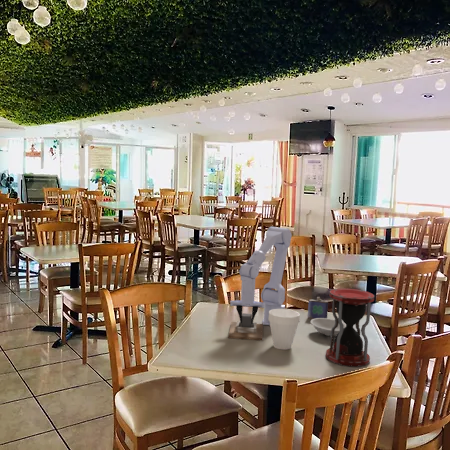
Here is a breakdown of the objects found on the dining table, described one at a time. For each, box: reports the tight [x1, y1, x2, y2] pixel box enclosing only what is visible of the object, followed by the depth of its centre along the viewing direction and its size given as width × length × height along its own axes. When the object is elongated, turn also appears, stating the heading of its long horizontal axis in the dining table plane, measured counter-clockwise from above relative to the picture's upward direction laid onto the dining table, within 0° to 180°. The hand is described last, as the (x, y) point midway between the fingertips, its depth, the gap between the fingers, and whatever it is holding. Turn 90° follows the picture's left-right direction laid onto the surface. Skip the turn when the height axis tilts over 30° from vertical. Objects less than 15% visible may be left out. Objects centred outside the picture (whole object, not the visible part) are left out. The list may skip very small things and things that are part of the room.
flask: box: [307, 296, 329, 320], centre depth 230 cm, size 9×3×11 cm, turn 76°
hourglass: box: [325, 288, 375, 367], centre depth 179 cm, size 16×16×25 cm
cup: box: [268, 308, 301, 351], centre depth 189 cm, size 12×12×14 cm
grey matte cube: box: [242, 312, 252, 328], centre depth 206 cm, size 4×4×5 cm
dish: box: [309, 317, 346, 337], centre depth 206 cm, size 18×14×5 cm
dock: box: [227, 321, 264, 341], centre depth 206 cm, size 14×19×3 cm
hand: (246, 323), depth 206 cm, fingers closed on grey matte cube, 4 cm apart
